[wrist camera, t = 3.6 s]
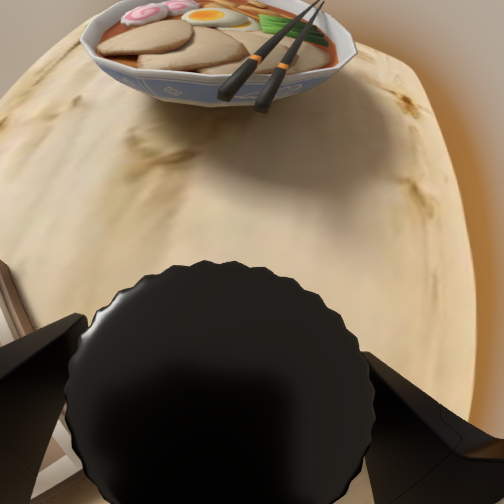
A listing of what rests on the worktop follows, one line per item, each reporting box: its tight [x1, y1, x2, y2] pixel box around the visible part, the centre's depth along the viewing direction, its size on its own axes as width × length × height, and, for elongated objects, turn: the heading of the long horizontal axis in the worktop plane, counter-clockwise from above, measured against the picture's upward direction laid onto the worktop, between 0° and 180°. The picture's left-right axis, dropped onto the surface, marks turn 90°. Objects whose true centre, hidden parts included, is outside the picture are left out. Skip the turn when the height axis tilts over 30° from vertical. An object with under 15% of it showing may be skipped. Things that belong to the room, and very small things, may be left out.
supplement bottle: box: [64, 260, 376, 504], centre depth 9 cm, size 7×7×12 cm
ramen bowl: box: [79, 0, 358, 114], centre depth 21 cm, size 25×23×8 cm
